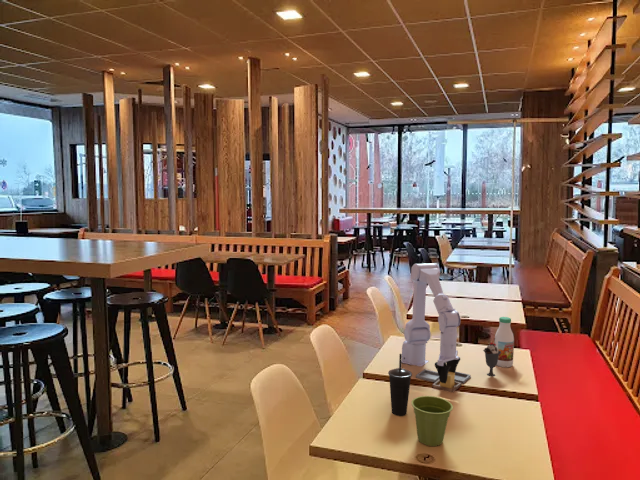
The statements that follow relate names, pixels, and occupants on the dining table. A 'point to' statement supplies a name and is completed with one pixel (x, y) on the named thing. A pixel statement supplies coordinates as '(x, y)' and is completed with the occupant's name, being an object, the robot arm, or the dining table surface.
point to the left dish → (428, 375)
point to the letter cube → (449, 380)
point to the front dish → (437, 385)
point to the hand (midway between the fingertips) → (447, 379)
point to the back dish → (461, 377)
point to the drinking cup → (399, 389)
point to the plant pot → (431, 418)
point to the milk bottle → (505, 342)
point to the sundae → (491, 357)
